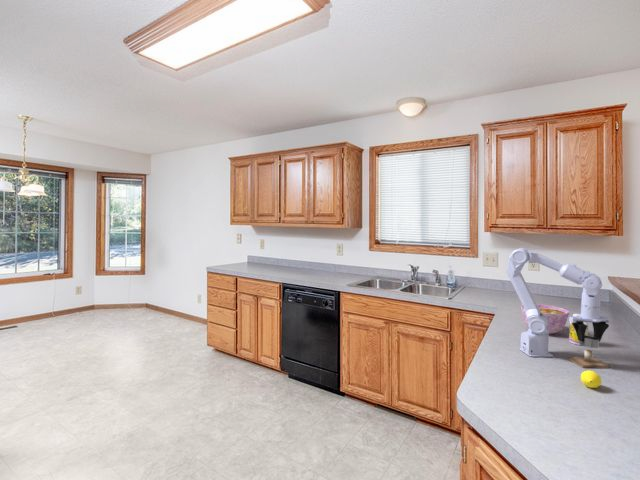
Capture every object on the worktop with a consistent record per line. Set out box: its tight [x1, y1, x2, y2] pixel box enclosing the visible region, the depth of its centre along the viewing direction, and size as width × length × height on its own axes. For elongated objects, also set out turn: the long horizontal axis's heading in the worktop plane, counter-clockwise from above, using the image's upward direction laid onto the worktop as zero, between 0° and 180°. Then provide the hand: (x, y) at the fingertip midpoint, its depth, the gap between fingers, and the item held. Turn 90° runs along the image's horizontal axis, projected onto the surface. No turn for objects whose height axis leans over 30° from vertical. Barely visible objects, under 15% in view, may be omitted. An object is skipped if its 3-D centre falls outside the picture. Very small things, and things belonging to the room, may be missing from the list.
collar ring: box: [579, 334, 600, 349], centre depth 130 cm, size 6×6×3 cm
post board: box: [566, 349, 611, 369], centre depth 130 cm, size 10×8×5 cm
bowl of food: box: [520, 303, 570, 335], centre depth 168 cm, size 20×20×12 cm
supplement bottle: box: [568, 313, 589, 346], centre depth 152 cm, size 7×7×13 cm
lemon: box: [580, 369, 602, 389], centre depth 112 cm, size 7×5×5 cm
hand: (588, 340), depth 130 cm, fingers closed on collar ring, 6 cm apart
